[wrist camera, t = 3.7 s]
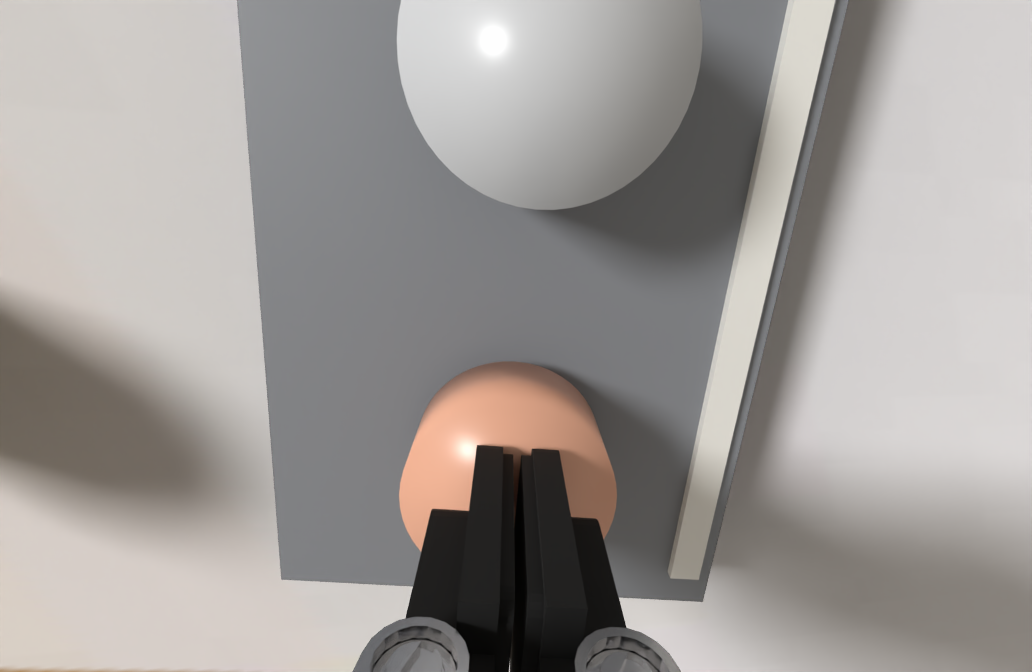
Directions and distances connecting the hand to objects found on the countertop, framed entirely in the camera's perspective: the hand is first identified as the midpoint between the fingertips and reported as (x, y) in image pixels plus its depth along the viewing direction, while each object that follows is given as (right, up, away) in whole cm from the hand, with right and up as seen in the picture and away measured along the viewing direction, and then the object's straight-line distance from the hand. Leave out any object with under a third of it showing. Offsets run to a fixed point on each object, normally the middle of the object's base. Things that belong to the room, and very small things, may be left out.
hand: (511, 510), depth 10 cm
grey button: (+1, +8, -1) cm, 8 cm away
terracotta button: (0, +1, +2) cm, 2 cm away
